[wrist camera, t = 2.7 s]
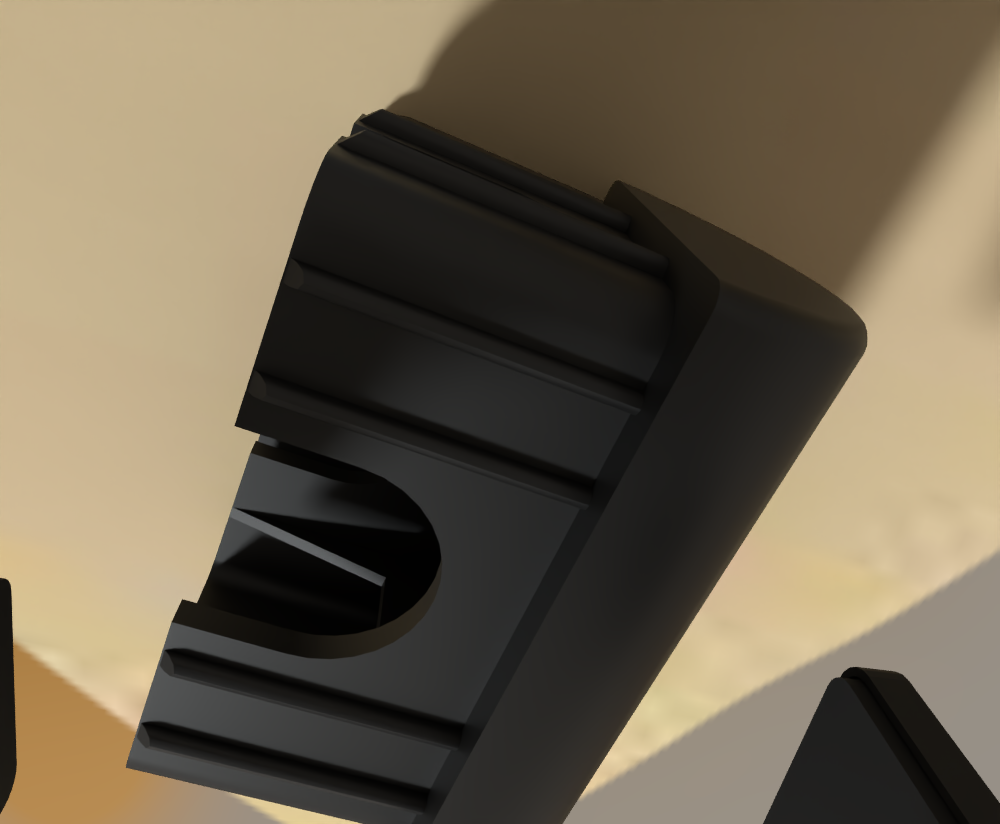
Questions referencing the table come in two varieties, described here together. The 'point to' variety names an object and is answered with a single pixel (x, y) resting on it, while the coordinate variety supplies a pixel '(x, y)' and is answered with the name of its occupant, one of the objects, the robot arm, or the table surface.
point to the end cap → (481, 484)
